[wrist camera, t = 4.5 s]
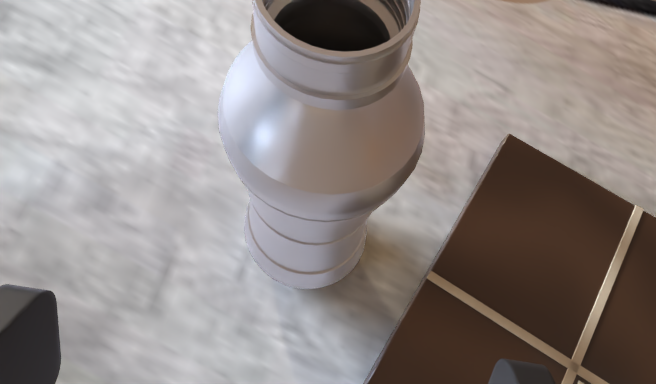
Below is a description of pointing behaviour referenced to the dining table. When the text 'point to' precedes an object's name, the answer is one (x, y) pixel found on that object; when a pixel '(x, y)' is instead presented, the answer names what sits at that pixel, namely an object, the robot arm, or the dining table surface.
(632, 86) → the dining table surface
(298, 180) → the plastic bottle
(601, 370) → the board
